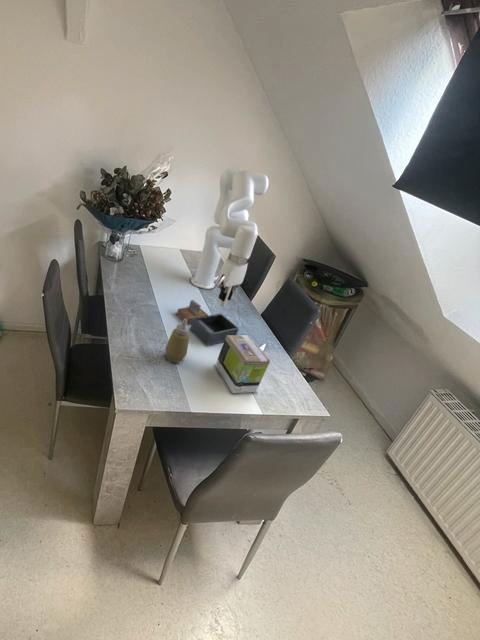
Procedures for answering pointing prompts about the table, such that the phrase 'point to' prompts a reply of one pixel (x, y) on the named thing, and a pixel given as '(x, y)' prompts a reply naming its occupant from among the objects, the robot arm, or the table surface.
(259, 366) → the tea box
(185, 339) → the squeeze bottle
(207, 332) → the sink basin
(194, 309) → the tap handle
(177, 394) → the table surface
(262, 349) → the unicorn horn
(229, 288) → the marker
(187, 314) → the tap block
